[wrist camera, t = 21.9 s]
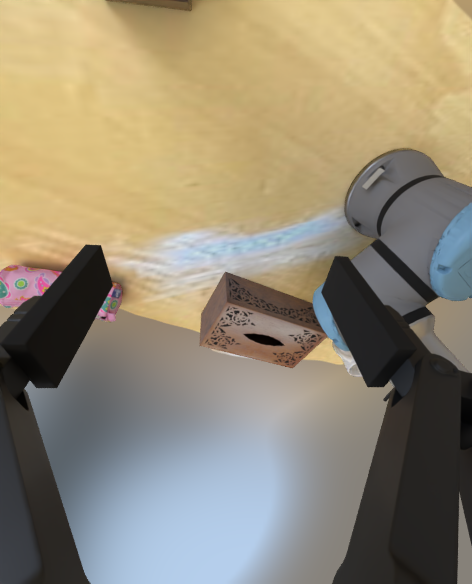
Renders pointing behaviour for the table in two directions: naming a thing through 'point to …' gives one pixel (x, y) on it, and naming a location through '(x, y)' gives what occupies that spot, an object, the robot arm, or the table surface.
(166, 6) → the base block
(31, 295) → the pencil case
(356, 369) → the mug
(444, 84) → the table surface
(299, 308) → the tissue box cover
